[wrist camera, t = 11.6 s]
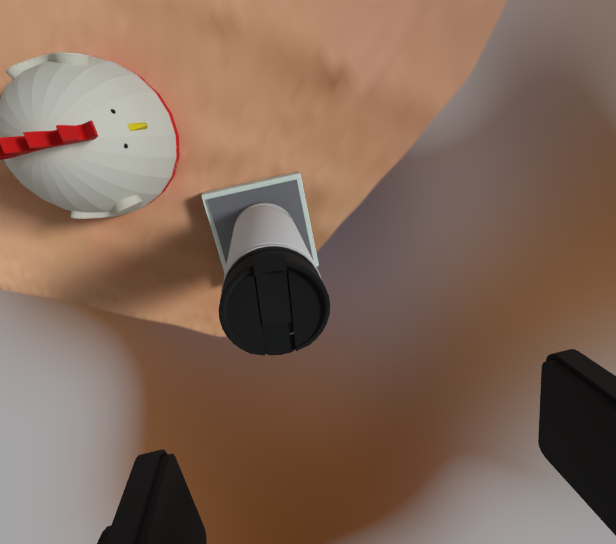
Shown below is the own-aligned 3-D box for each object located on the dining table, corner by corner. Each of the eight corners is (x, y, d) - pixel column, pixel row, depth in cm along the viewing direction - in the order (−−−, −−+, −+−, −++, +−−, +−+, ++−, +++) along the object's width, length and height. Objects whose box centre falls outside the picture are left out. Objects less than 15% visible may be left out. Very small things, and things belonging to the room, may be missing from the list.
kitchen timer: (197, 195, 40) (168, 226, 26) (64, 226, 39) (-42, 276, 25) (150, 44, 35) (81, -18, 21) (-4, 77, 34) (-182, 35, 20)
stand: (203, 192, 40) (200, 195, 37) (297, 171, 40) (300, 173, 38) (229, 279, 43) (228, 288, 41) (315, 259, 44) (319, 266, 41)
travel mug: (291, 194, 38) (329, 248, 20) (297, 257, 41) (336, 359, 22) (229, 201, 38) (206, 263, 19) (238, 264, 40) (226, 375, 21)
